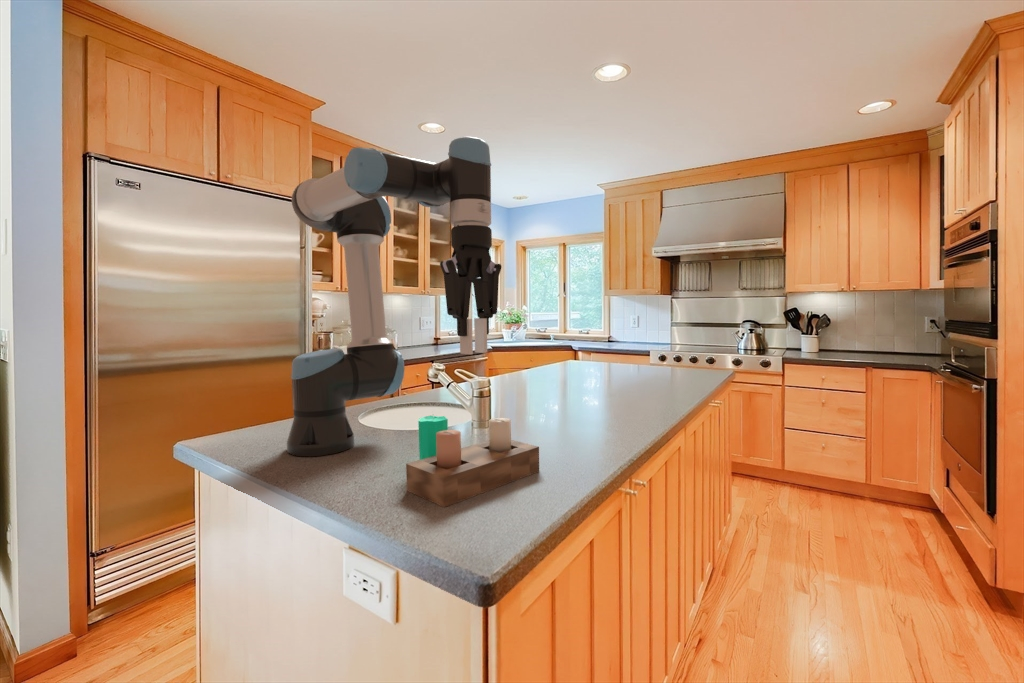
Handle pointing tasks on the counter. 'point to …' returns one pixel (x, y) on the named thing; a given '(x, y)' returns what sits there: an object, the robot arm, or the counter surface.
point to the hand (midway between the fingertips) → (473, 352)
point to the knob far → (499, 434)
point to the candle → (430, 434)
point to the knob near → (448, 448)
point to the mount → (471, 472)
